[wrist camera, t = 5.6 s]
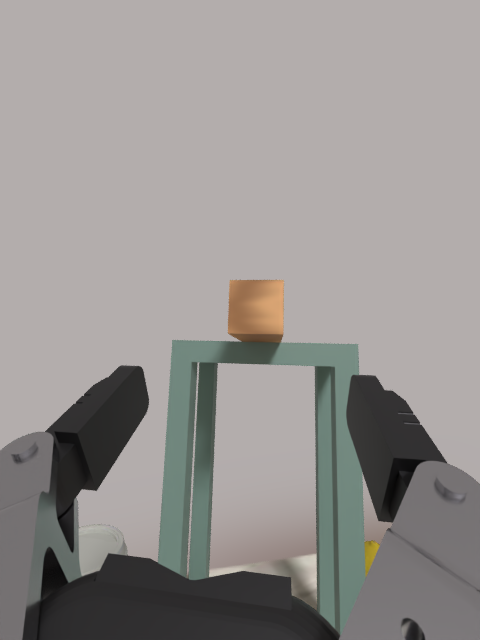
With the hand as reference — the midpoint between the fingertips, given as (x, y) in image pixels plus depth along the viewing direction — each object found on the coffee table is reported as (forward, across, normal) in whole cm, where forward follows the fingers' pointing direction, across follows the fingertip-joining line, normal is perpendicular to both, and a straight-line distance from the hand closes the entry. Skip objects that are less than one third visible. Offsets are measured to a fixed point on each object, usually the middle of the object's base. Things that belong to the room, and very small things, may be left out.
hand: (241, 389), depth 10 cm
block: (+15, 0, +6) cm, 17 cm away
